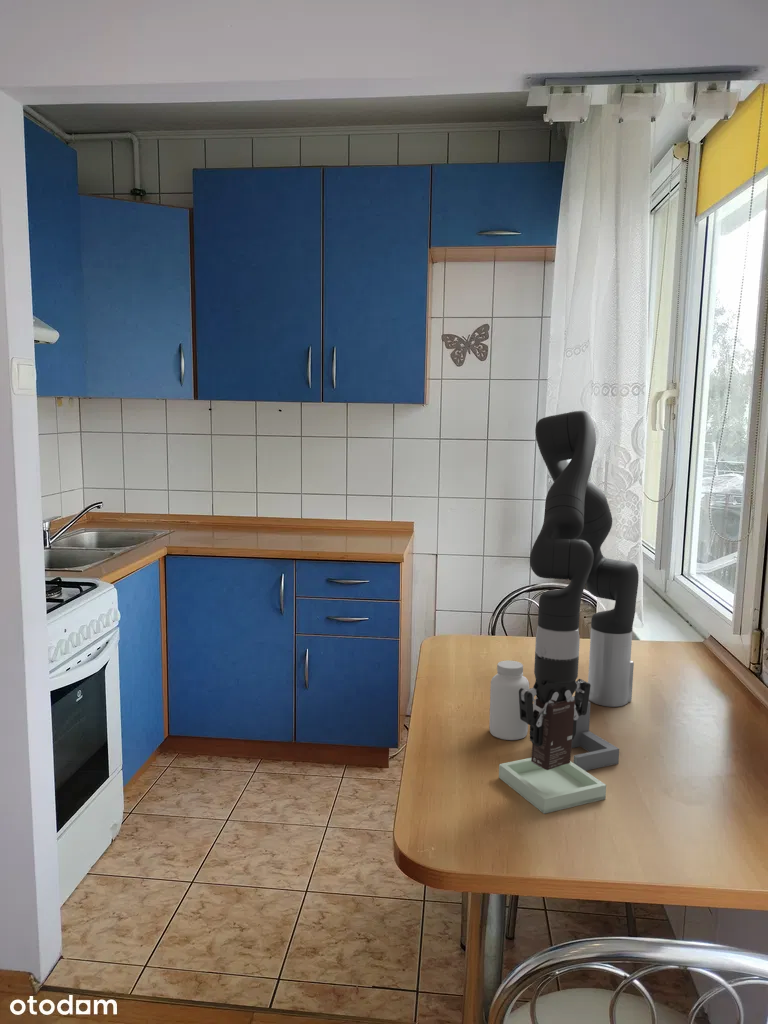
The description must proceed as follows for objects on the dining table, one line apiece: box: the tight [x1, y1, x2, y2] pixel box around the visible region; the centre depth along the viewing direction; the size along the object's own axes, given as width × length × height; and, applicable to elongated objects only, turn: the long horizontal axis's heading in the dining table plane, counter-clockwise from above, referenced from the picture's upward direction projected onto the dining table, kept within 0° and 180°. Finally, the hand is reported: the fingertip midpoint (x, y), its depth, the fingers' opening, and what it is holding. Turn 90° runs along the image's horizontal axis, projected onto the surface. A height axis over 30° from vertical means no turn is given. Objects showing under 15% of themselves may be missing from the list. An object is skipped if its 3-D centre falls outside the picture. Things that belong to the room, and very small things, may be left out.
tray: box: [498, 757, 607, 815], centre depth 141 cm, size 13×14×3 cm
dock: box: [571, 695, 620, 772], centre depth 155 cm, size 10×13×10 cm
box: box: [531, 698, 575, 770], centre depth 140 cm, size 6×4×12 cm
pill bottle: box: [489, 660, 530, 741], centre depth 164 cm, size 8×8×15 cm
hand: (552, 741), depth 140 cm, fingers closed on box, 6 cm apart
